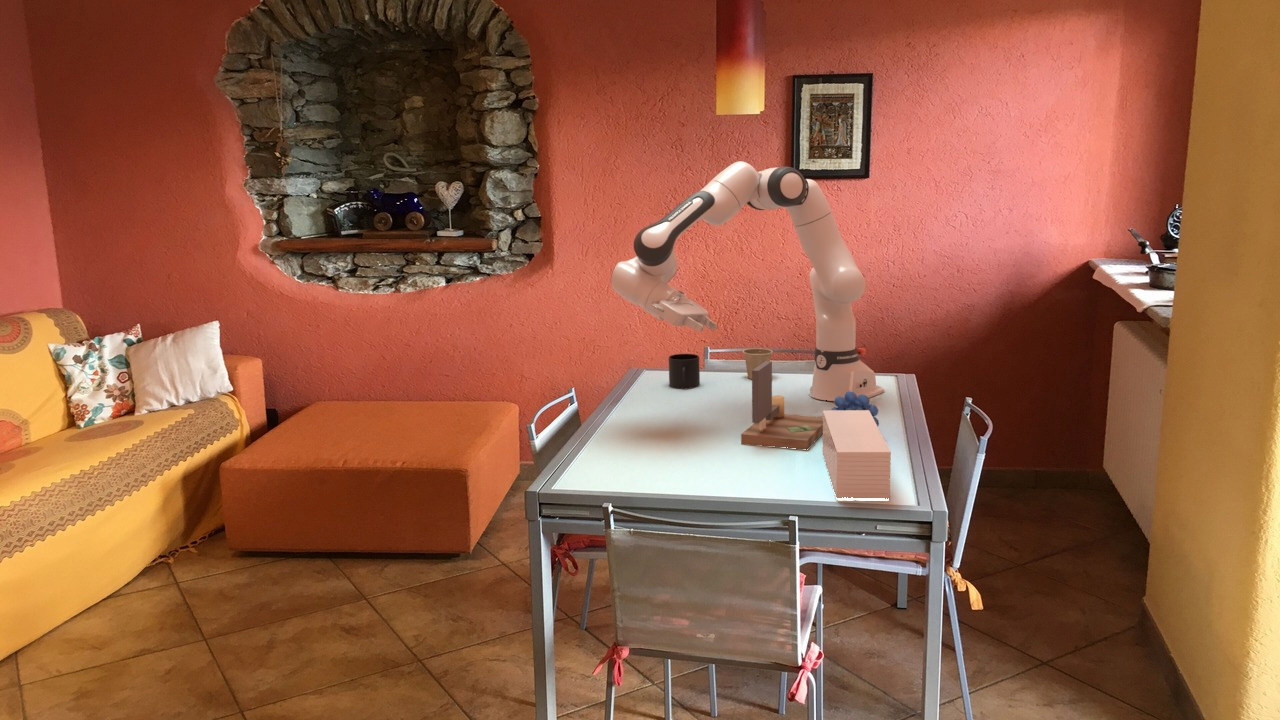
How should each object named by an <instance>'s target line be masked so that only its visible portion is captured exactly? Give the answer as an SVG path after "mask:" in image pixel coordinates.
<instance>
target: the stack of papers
mask: <svg viewBox="0 0 1280 720" xmlns="http://www.w3.org/2000/svg"><path fill="white" fill-rule="evenodd" d="M822 417H823V434H822V452H823V453H822V457H823V456H824V457H823V459H825V460H824V463H825V462H826V464H825V467H826V466H827V467H826V470H827V469H828V471H827V473H828V472H829V474H828V477H829V476H830V478H829V480H830V479H831V481H830V483H831V482H832V485H833V488H832V490H833V489H834V492H835V494H836V497H837V498H842V497H843V498H844V497H846V498H847V497H848V498H851V497H853V498H885V499H886V498H887V499H888V498H890V497H891V496H890V495H891V493H890V492H891V464H892V463H891V460H892V458H891V455H892V454H891V453H892V451H891V450H890V448H889V445H888V443H887V442H886V440H885V438H884V436H883V435H882V433H881V431H880V429H879V425H878V426H877V424H876V422H875V421H874V419H873V417H872V415H871V413H870V411H869V410H832V409H829V410H822ZM832 485H831V486H832ZM834 492H833V493H834Z"/></svg>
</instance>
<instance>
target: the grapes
mask: <svg viewBox="0 0 1280 720" xmlns="http://www.w3.org/2000/svg"><path fill="white" fill-rule="evenodd" d="M833 402H834V405H835V406H836V407H833V408H832V409H831V410H869V411H870V413H871V415H872V417H873V419H874V421H875V422H876V424H877V426H878V427H879V425H880V421H879V419H878V418H877V417H876V416H878V414H879V409H878V407H877V406H876V405H875V404H873V403H870V402H871V401H870V398H868V397H867V396H866V395H863V394H861V395H859V396H858V398H857V395H856V394H855V393H854V392H851V391H848V392H846V394H845V398H844V397H840V396H838V397H836V398H835V401H833Z"/></svg>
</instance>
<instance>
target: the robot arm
mask: <svg viewBox="0 0 1280 720" xmlns="http://www.w3.org/2000/svg"><path fill="white" fill-rule="evenodd" d="M746 205H747V206H749V207H750V208H751V209H754V210H757V211H758V210H759V211H768V210H769V211H772V210H778V209H779V210H780V209H781V208H784V209H785V210H786V211H787V212H788V214H789V215H790V219H791V222H792V224H793V227H794V229H795V232H796V235H797V237H798V240H799V243H800V245H801V248H802V250H803V252H804V254H805V256H807V259H808V260H809V261H810V263H811V265H812V268H811V270H810V272H809V283H810V284H809V285H810V286H811V293H812V301H813V307H814V313H815V322H816V323H815V326H816V328H815V329H816V330H815V334H816V336H815V338H816V339H815V341H816V342H815V343H816V346H815V348H814V353H813V354H814V358H813V360H814V362H815V364H814V368H813V375H812V381H811V382H812V384H811V386H810V388H809V389H810V392H809V395H810V397H812V398H813V399H816V400H821V401H826V400H827V401H829V402H834V401H835V398H836V397H838V396H840V397H844V398H845V394H846V392H848V391H851V392H854V393H855V394H856V395H857V398H858V396H859V395H861V394H863V395H866V396H867V397H868V398H869V399H870V398H872V397H875V396H877V395H880V394H883V393H885V388H884V387H882V386H881V385H878V384H877V378H876V374H875V371H874V370H872V369H871V368H870V367H869V366H868V365H867V364H866V363H864V362H863V361H862V360H861V358H860V355H861V356H865V355H866V351H867V350H866V348H864V347H858V348H857V347H856V333H857V332H856V326H857V325H856V324H857V323H856V318H855V316H854V313H853V307H852V303H855V302H856V301H858V300H859V299H861V297H862V296H863V295H864V293H865V291H866V284H867V283H866V279H865V277H864V275H863V274H862V272H861V271H860V269H859V267H858V265H857V263H856V261H855V259H854V257H853V255H852V253H851V251H850V250H849V248H848V246H847V244H846V243H845V241H844V239H843V237H842V235H841V232H840V230H839V227H838V224H837V222H836V218H835V217H834V214H833V213H834V212H832V209H831V206H830V203H829V202H828V200H827V197H826V196H825V194H824V192H823V190H822V188H821V187H820V185H819V183H818V182H816V181H815V180H814V179H811V178H805V177H804V175H803V174H802V173H801V172H800V171H799V170H797V169H796V168H794V167H791V166H780V167H770V168H766V169H763V170H760V171H757V170H756V168H755V167H753V166H752V165H751V164H750V163H748V162H746V161H742V160H740V161H735V162H733V163H732V164H729V166H727V167H726V168H725V169H723V170H722V171H721V172H719V173H718V174H716V176H714V178H712V179H711V180H710V181H708V183H707V184H705V186H704V187H702V188H701V190H699V191H697V192H694V193H692V194H691V195H689V196H688V197H687V198H685V199H684V200H683V201H682V202H680V203H679V204H678V205H677V206H675V207H674V208H673V209H672V210H671V211H669V212H668V213H667V214H666V215H665V216H663V217H662V218H660V219H659V220H658V221H655V222H654V223H651V224H649V225H647V226H645V227H643V228H641V229H640V230H639V231H638V233H637V234H636V236H635V237H634V240H633V250H634V252H635V255H636V256H635V257H633V258H631V259H627V260H624V261H619V262H617V264H616V265H615V266H614V268H613V270H612V273H611V276H610V284H611V285H610V286H611V288H612V290H613V291H614V292H615V293H617V294H618V295H619V296H620V297H622V298H624V300H626V301H627V302H629V303H630V304H633V305H636V306H639V307H640V308H642V310H644V312H646V313H648V314H649V315H651V316H653V317H655V318H657V319H658V320H659V321H665V322H667V323H669V324H670V325H672V326H675V327H683V326H685V327H687V328H690V329H693V330H695V331H697V332H703V330H704V328H705V327H707V328H708V329H709V330H711V331H715V330H716V329H717V328H718V324H717V323H716V322H714V321H713V320H712V319H710V317H708V316H709V311H707V309H706V308H704V307H703V306H701V305H700V304H699V303H697V302H695V300H692V299H690V298H689V297H687V294H686V293H685V292H683V291H681V290H677V289H676V288H674V287H672V286H671V285H669V284H668V283H669V282H670V281H671V280H672V279H673V278H674V276H675V275H676V274H677V270H678V260H677V256H676V255H677V254H676V251H675V245H676V243H677V240H678V239H679V237H680V236H682V235H683V234H684V233H685V232H686V231H688V230H689V229H690V228H691V227H693V225H694V224H696V223H697V222H699V221H701V220H702V221H704V222H705V223H706V224H708V225H713V226H722V225H724V224H726V223H727V222H729V221H730V220H731V219H733V218H734V217H735V216H736V214H738V213H739V211H741V210H742V209H743V207H745V206H746Z"/></svg>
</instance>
